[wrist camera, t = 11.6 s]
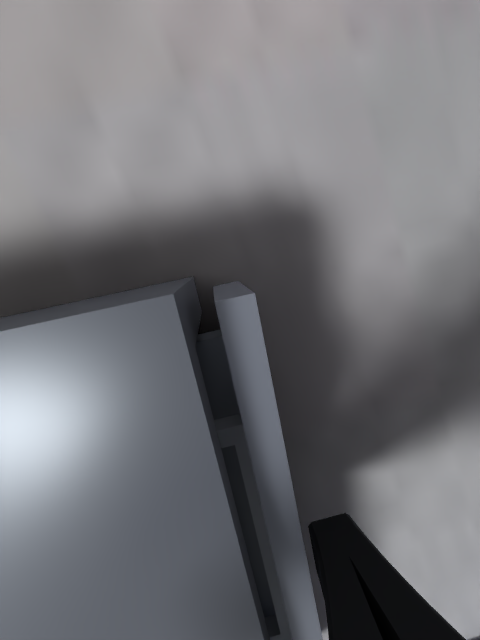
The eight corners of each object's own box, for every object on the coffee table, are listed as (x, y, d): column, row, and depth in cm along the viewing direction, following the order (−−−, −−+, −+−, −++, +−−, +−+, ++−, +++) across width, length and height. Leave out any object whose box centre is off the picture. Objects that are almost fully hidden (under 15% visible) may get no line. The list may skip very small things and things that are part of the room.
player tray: (238, 280, 9) (254, 293, 5) (316, 658, 13) (354, 801, 9) (-219, 380, 8) (-523, 464, 5) (12, 749, 12) (-66, 940, 8)
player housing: (193, 276, 9) (173, 293, 4) (285, 655, 13) (328, 887, 8) (-267, 375, 8) (-928, 533, 4) (-21, 745, 12) (-172, 1061, 7)
